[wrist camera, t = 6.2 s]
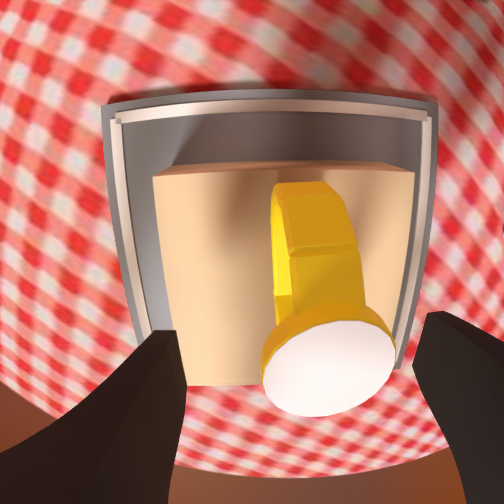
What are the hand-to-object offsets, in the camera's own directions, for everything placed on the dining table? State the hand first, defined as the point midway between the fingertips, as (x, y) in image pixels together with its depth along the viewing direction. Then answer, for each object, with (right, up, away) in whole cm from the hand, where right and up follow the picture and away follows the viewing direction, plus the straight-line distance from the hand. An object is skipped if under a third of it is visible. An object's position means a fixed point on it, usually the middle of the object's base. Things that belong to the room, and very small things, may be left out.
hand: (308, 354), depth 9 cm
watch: (0, +3, +3) cm, 4 cm away
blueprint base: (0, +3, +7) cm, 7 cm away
